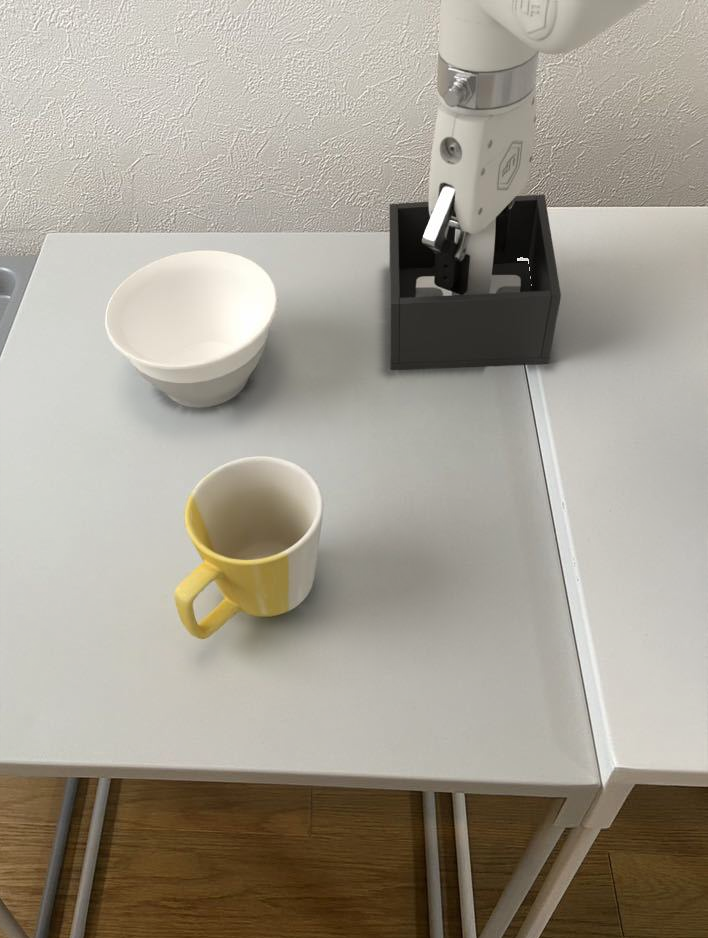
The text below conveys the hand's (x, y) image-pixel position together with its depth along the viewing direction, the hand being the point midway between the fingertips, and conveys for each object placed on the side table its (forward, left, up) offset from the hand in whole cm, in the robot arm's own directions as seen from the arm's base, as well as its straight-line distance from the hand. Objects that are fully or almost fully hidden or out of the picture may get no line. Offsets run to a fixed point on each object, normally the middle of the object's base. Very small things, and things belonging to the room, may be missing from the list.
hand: (470, 265), depth 87 cm
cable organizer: (0, 0, -5) cm, 5 cm away
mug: (-3, +38, -6) cm, 39 cm away
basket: (0, 0, -6) cm, 6 cm away
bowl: (+17, +20, -6) cm, 27 cm away
